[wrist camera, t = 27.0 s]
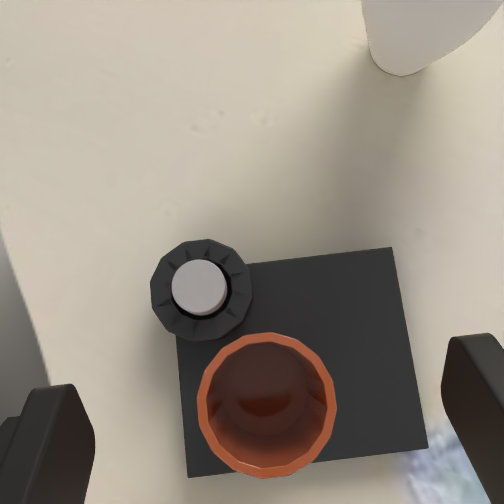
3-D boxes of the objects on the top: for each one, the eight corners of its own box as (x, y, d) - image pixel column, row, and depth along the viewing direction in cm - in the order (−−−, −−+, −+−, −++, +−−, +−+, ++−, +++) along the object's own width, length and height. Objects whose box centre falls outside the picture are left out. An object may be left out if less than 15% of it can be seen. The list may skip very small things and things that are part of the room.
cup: (220, 446, 28) (204, 486, 19) (210, 345, 29) (191, 341, 21) (319, 433, 28) (346, 468, 19) (305, 333, 29) (324, 325, 21)
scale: (176, 473, 29) (165, 489, 26) (159, 257, 32) (147, 245, 28) (419, 443, 29) (441, 455, 26) (381, 231, 32) (396, 216, 28)
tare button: (178, 318, 28) (173, 316, 26) (174, 268, 28) (169, 262, 27) (230, 312, 28) (228, 309, 26) (224, 262, 28) (222, 256, 27)
